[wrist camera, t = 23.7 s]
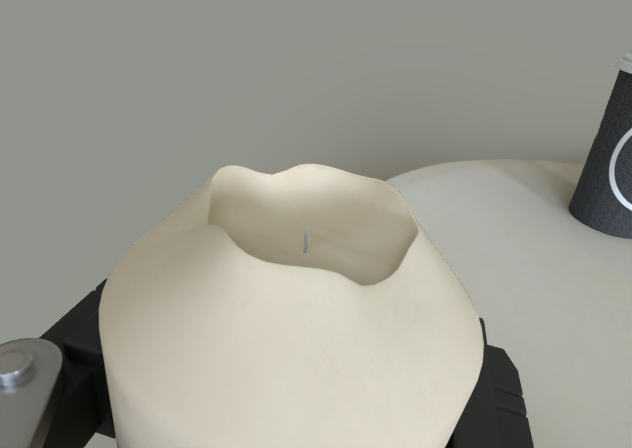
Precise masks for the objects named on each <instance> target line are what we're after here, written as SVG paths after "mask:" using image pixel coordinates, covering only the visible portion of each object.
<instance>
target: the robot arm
mask: <svg viewBox="0 0 632 448" xmlns="http://www.w3.org/2000/svg"><path fill="white" fill-rule="evenodd" d="M106 281H107V279H105V280H104V281H103V282H102V283H101V284H100V285H98V286H97V287H96V290H95V291H92V292H91V293H89V295H87V296H86V297H85V298H84V299H83V300H81V301H80V302H79V303H78V304H77V305H76V306H75V307H74V308H72V309H71V310H70V311H69V312H68V313H67V314H66V315H65V316H63V317H62V318H61V319H60V320H59V321H58V322H57V323H56V324H54V326H52V327H51V328H50V329H49V330H48V331H47V332H45V333H44V334H43V335H42V336H41V337H39V338H25V339H18V340H13V341H9V342H6V343H3V344H1V345H0V448H84V447H85V445H86V444H87V443H88V441H89V440H90V439H91V438H92V436H93V435H94V434H95V432H97V433H99V434H102V435H105V436H108V437H111V438H114V439H115V438H116V435H115V428H114V422H113V415H112V409H111V403H110V396H109V390H108V384H107V377H106V371H105V364H104V358H103V351H102V345H101V338H100V331H99V306H100V301H101V296H102V291H103V289H104V286H105V284H106ZM479 320H480V324H481V327H482V334H483V342H484V350H483V363H482V367H481V370H480V374H479V377H478V381H477V383H476V385H475V387H474V389H473V391H472V393H471V396H470V398H469V400H468V402H467V404H466V406H465V408H464V410H463V412H462V414H461V416H460V418H459V420H458V422H457V424H456V426H455V428H454V430H453V432H452V434H451V436H450V438H449V440H448V442H447V445H446V447H445V448H534V446H533V442H532V437H531V432H530V427H529V422H528V418H526V408H525V403H524V398H522V394H523V393H522V388H521V384H520V379H519V374H518V370H517V369H516V367H515V366H514V364H513V363H512V361H511V360H510V358H509V357H508V355H507V354H506V352H505V350H504V349H501V348H497V347H494V346H490V345H487V340H486V333H485V325H484V321H483V319H482V318H479Z"/></svg>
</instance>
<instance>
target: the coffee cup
mask: <svg viewBox="0 0 632 448" xmlns="http://www.w3.org/2000/svg"><path fill="white" fill-rule="evenodd" d="M615 67H616V68H618V69H620V71H619V74H618V76H617V79H616V82H615V85H614V88H613V91H612V93H611V96H610V99H609V101H608V104H607V107H606V110H605V112H604V115H603V118H602V120H601V123H600V126H599V129H598V131H597V134H596V137H595V139H594V142H593V145H592V148H591V150H590V153H589V155H588V158H587V161H586V163H585V166H584V169H583V171H582V174H581V177H580V179H579V182H578V185H577V187H576V190H575V193H574V195H573V198H572V201H571V203H570V206H569V210H570V212H571V214H572V215H573V216H574V217H575V218H577V219H578V220H579V221H581V222H582V223H584V224H586V225H588V226H590V227H592V228H594V229H596V230H598V231H601V232H604V233H607V234H610V235H613V236H618V237H623V238H632V51H631V52H630V53H626V54H625V55H624V56H623V58H621V59H620V60H619V61H618V62H617V64H616V65H615Z"/></svg>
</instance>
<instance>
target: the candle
mask: <svg viewBox="0 0 632 448" xmlns="http://www.w3.org/2000/svg"><path fill="white" fill-rule="evenodd" d="M99 331H100V338H101V345H102V351H103V358H104V364H105V371H106V377H107V384H108V390H109V396H110V403H111V409H112V415H113V422H114V428H115V435H116V441H117V447H118V448H445V447H446V445H447V442H448V440H449V438H450V436H451V434H452V432H453V430H454V428H455V426H456V424H457V422H458V420H459V418H460V416H461V414H462V412H463V410H464V408H465V406H466V404H467V402H468V400H469V398H470V396H471V393H472V391H473V389H474V387H475V385H476V383H477V381H478V377H479V374H480V370H481V367H482V363H483V350H484V342H483V334H482V327H481V324H480V320H479V317H478V314H477V311H476V309H475V307H474V305H473V303H472V301H471V299H470V297H469V295H468V293H467V291H466V290H465V288H464V286H463V285H462V283H461V282H460V280H459V279H458V277H457V276H456V274H455V273H454V271H453V270H452V268H451V267H450V265H449V264H448V262H447V261H446V259H445V258H444V256H443V255H442V253H441V252H440V251H439V250H438V248H437V247H436V246H435V244H434V243H433V242H432V240H431V239H430V238H429V236H428V235H427V234H426V232H425V231H424V229H423V228H422V227H421V225H420V224H419V222H418V221H417V220H416V218H415V216H414V215H413V213H412V211H411V210H410V208H409V206H408V204H407V203H406V201H405V200H404V198H403V196H402V195H401V193H400V192H399V191H398V190H397V189H396V188H395V187H394V186H393V185H391V184H389V183H387V182H385V181H383V180H379V179H374V178H369V177H363V176H359V175H356V174H352V173H349V172H346V171H342V170H339V169H335V168H332V167H328V166H324V165H318V164H301V165H296V166H294V167H291V168H289V169H286V170H283V171H280V172H277V173H273V174H266V173H261V172H256V171H253V170H250V169H248V168H244V167H240V166H235V165H233V166H224V167H222V168H220V169H218V170H216V172H215V173H214V174H213V175H212V176H211V177H210V179H209V180H208V181H207V182H206V183H205V184H204V185H203V186H202V187H201V188H200V189H199V190H198V191H197V192H196V193H194V194H193V195H192V196H191V197H190V198H189V199H187V200H186V201H185V202H184V203H182V204H181V205H180V206H179V207H178V208H176V209H175V210H174V211H173V212H171V213H170V214H169V215H168V216H167V217H165V218H164V219H163V220H162V221H160V222H159V223H158V224H157V225H156V226H154V227H153V228H152V229H151V230H150V231H149V232H147V233H146V234H145V235H144V236H143V237H141V239H139V240H138V241H137V242H136V243H134V244H133V245H132V246H131V247H130V248H129V249H128V250H127V251H126V252H125V254H124V255H123V256H122V257H121V258H120V260H118V262H117V263H116V265H115V267H114V268H113V270H112V271H111V273H110V274H109V277H108V279H107V281H106V284H105V286H104V289H103V291H102V296H101V301H100V306H99Z"/></svg>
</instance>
